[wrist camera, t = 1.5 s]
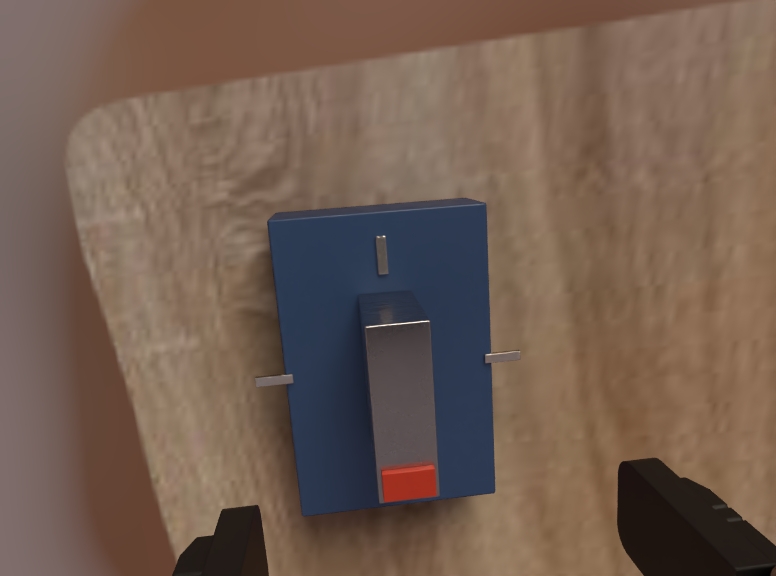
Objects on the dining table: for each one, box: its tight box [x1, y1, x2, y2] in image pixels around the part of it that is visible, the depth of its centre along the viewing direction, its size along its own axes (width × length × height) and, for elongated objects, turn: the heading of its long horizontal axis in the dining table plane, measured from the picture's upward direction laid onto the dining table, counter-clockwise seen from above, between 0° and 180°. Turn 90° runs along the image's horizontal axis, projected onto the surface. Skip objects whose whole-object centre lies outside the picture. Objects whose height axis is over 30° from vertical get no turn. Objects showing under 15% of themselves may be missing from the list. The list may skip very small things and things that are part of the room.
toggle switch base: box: [255, 198, 520, 516], centre depth 23 cm, size 12×10×3 cm
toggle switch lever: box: [358, 290, 440, 504], centre depth 20 cm, size 6×2×4 cm, turn 4°
